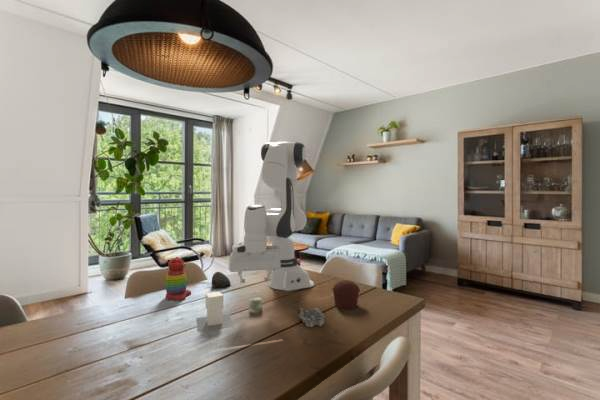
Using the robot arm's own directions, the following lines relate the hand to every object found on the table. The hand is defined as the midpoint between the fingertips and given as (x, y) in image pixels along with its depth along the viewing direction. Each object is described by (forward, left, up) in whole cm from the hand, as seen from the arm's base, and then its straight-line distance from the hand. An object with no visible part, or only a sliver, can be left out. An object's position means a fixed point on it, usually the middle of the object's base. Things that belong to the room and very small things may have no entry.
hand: (254, 281), depth 123 cm
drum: (0, -1, -12) cm, 12 cm away
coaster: (+16, +5, -12) cm, 21 cm away
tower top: (+16, +5, -7) cm, 18 cm away
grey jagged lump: (-18, +14, -13) cm, 27 cm away
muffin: (-37, +4, -12) cm, 40 cm away
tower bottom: (+16, +5, -12) cm, 20 cm away
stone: (+10, -40, -13) cm, 43 cm away
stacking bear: (+30, -31, -12) cm, 44 cm away
